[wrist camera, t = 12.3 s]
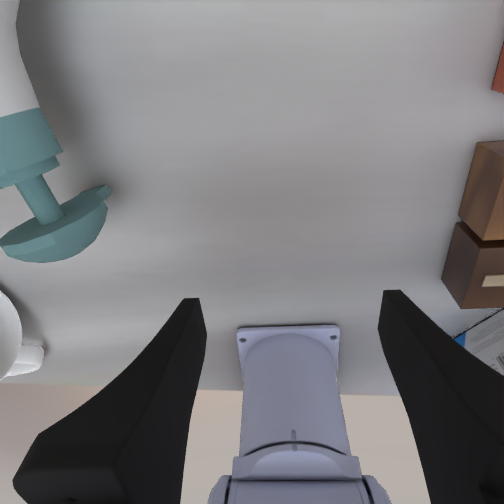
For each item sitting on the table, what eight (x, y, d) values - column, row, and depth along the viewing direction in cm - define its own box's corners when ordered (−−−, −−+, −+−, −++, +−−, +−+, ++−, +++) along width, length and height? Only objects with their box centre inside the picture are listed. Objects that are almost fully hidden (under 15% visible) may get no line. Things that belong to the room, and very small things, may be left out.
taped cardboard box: (508, 276, 24) (538, 307, 21) (440, 279, 24) (461, 310, 22) (532, 218, 22) (568, 245, 19) (455, 222, 22) (480, 249, 19)
